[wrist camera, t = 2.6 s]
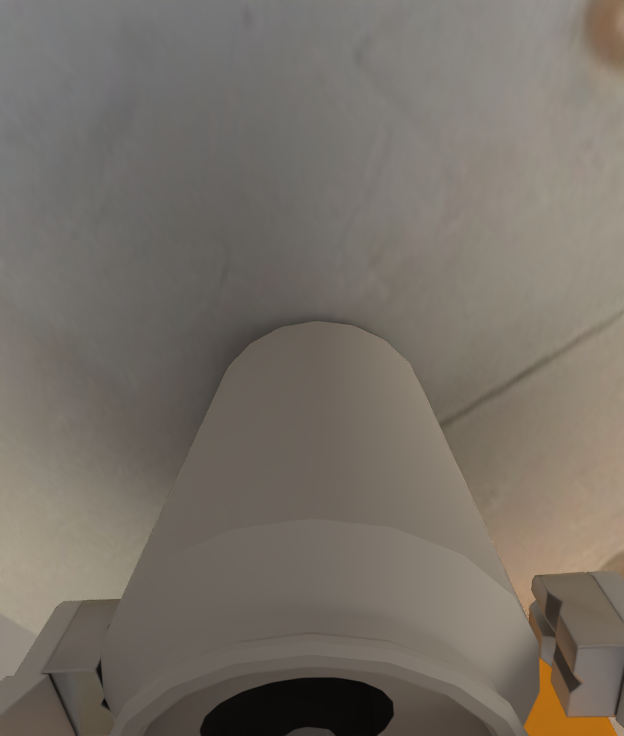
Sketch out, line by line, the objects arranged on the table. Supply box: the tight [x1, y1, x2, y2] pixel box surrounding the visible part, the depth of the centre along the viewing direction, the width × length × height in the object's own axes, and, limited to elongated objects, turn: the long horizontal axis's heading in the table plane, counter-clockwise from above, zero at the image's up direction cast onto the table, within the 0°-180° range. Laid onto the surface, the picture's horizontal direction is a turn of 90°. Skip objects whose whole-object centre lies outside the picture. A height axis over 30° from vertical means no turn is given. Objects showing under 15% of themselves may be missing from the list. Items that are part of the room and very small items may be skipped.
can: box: [100, 321, 540, 736], centre depth 12 cm, size 8×8×12 cm
